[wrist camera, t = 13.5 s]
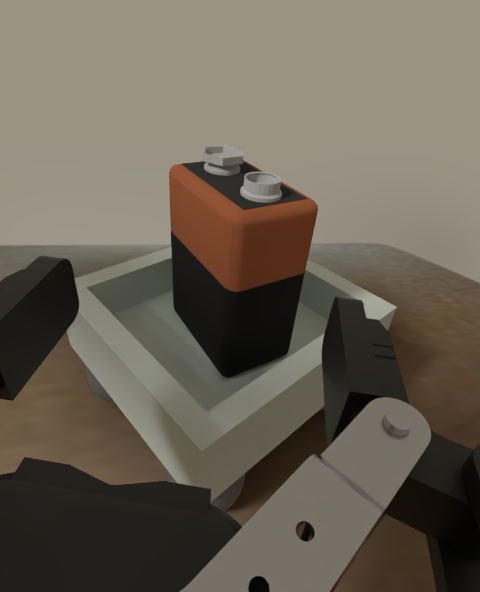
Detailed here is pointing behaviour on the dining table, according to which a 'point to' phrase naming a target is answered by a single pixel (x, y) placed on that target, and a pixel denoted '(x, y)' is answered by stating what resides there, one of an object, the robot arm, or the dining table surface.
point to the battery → (237, 257)
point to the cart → (201, 372)
